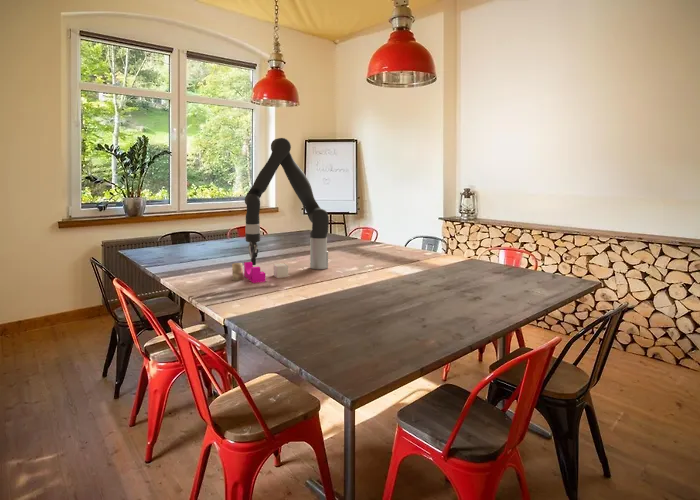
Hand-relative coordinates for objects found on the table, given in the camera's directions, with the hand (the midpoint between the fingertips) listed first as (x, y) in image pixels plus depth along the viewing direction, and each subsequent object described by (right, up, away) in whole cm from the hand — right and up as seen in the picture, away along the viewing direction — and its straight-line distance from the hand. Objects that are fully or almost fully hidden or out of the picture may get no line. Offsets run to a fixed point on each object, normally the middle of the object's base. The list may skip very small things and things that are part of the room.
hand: (253, 264), depth 242 cm
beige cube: (+15, -6, -6) cm, 18 cm away
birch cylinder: (-4, -7, -15) cm, 17 cm away
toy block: (+3, -7, -13) cm, 15 cm away
